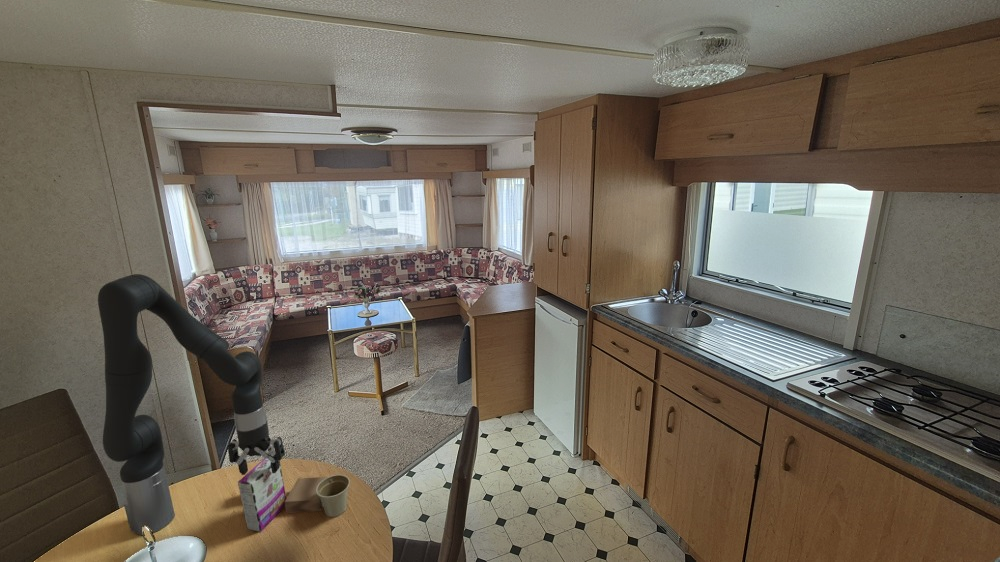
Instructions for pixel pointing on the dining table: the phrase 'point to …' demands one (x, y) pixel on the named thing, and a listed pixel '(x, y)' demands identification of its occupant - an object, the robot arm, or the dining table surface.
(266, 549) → the dining table surface
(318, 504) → the brown square block
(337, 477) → the flower pot
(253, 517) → the candy bar box
